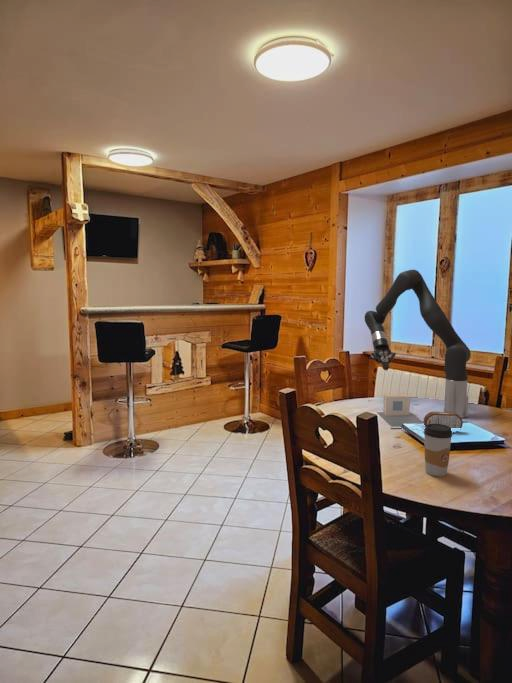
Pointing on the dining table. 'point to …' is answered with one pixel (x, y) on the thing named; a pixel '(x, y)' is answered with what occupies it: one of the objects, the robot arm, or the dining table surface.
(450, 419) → the tin
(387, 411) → the tile
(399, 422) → the slate board
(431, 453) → the coffee cup
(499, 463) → the dining table surface
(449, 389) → the robot arm
